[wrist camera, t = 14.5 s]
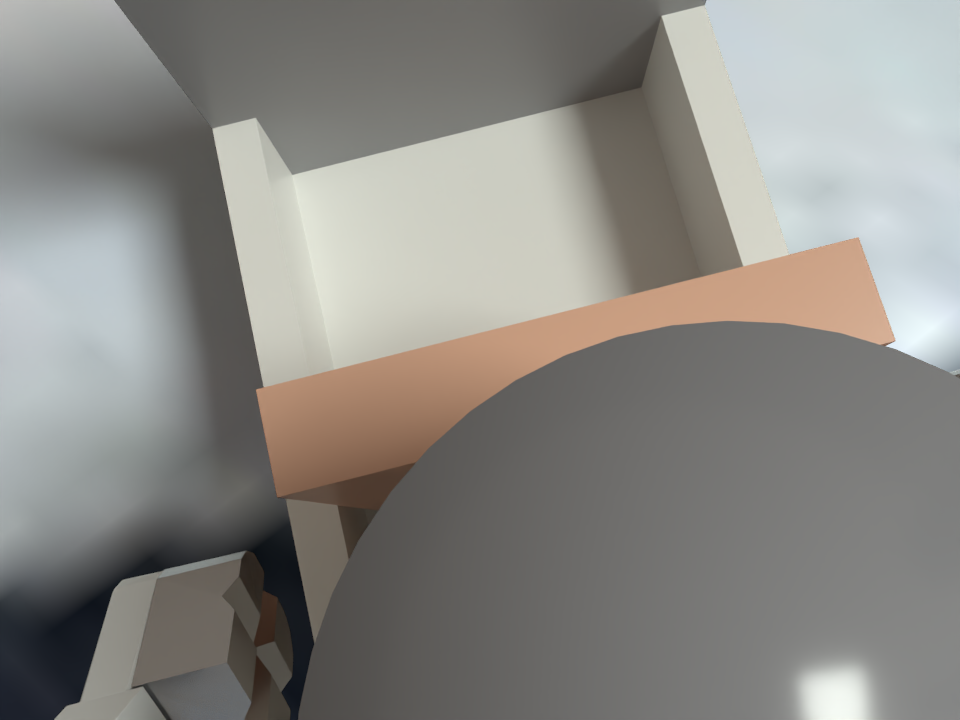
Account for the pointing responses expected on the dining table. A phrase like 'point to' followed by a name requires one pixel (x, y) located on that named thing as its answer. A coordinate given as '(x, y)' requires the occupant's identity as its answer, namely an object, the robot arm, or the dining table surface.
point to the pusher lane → (456, 174)
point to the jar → (668, 543)
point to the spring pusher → (527, 368)
